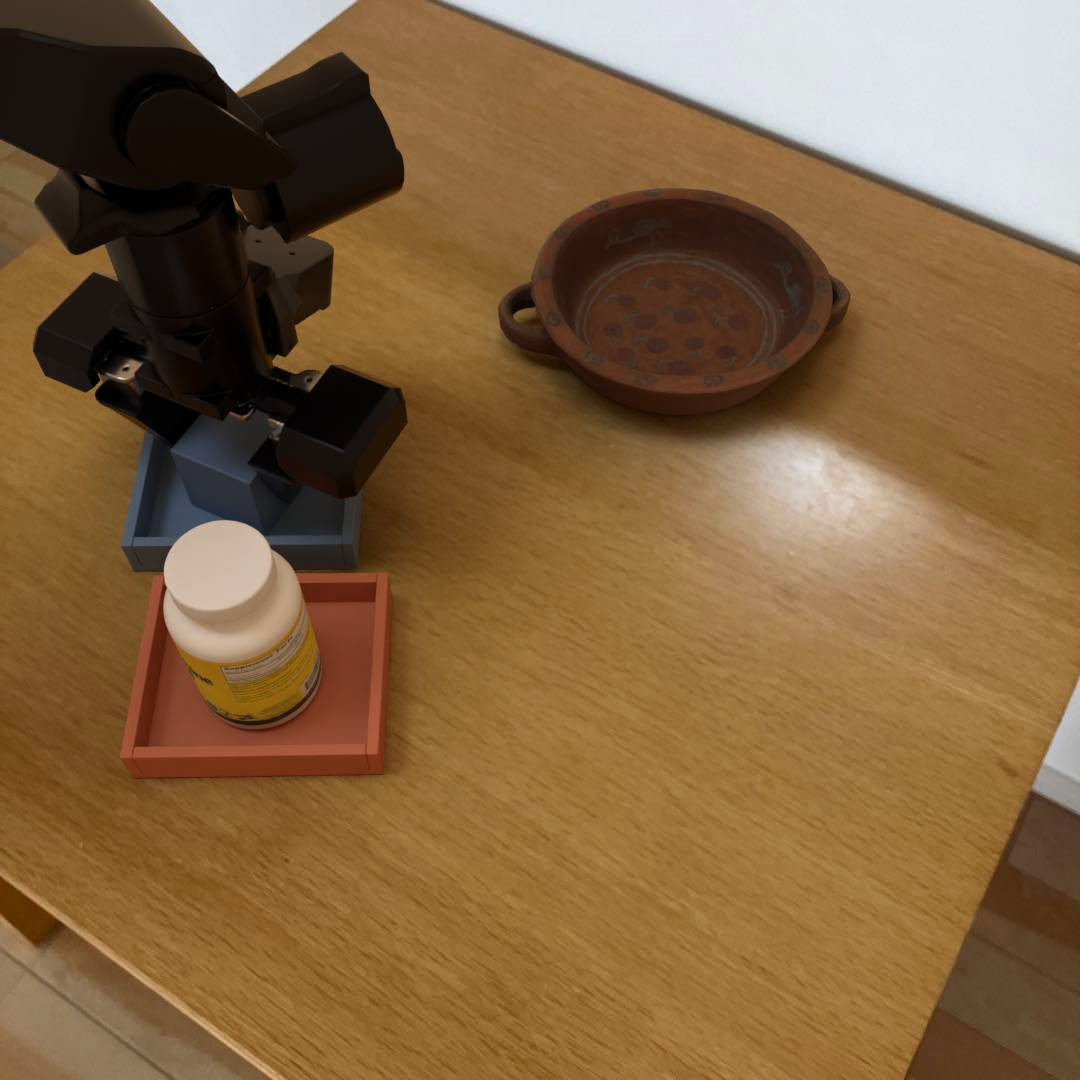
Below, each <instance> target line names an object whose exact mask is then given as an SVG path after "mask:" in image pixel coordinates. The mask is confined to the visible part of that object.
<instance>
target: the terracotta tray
mask: <svg viewBox="0 0 1080 1080" xmlns="http://www.w3.org/2000/svg"><path fill="white" fill-rule="evenodd" d="M295 574H296V576H297V578H298V581H299V584H300V587H301V590H302V594H303V597H304V601H305V604H306V608H307V611H308V615H309V618H310V622H311V625H312V628H313V631H314V635H315V638H316V641H317V645H318V648H319V652H320V657H321V662H322V675H321V680H320V684H319V687H318V690H317V692H316V694H315V696H314V697H313V699H312V701H311V702H310V703H309V704H308V706H307V707H306V708H305V709H304V710H303V711H302V712H300V713H299V714H298V715H296V716H295V717H294V718H292V719H291V720H289V721H287V722H285V723H283V724H280V725H277V726H274V727H270V728H264V729H244V728H239V727H236V726H233V725H230V724H228V723H226V722H224V721H223V720H221V719H219V718H218V717H217V716H216V715H215V714H214V713H213V712H212V711H211V710H210V709H209V707H208V706H207V705H206V703H205V701H204V699H203V698H202V696H201V694H200V692H199V690H198V688H197V686H196V684H195V682H194V680H193V678H192V676H191V674H190V672H189V670H188V668H187V666H186V664H185V663H184V661H183V659H182V656H181V655H180V653H179V651H178V649H177V647H176V645H175V643H174V641H173V639H172V637H171V635H170V633H169V631H168V629H167V626H166V622H165V618H164V610H163V609H164V598H165V593H166V590H167V586H166V584H165V579H164V574H153V576H152V582H151V587H150V592H149V597H148V602H147V607H146V613H145V618H144V624H143V629H142V635H141V639H140V645H139V651H138V655H137V656H138V657H137V662H136V667H135V671H134V677H133V683H132V689H131V694H130V699H129V704H128V710H127V715H126V721H125V725H124V731H123V736H122V742H121V747H120V753H119V759H120V761H121V762H122V764H123V765H124V767H125V768H126V769H127V771H128V772H129V774H130V775H131V777H132V778H133V779H149V778H150V779H153V778H155V779H156V778H157V779H158V778H217V777H219V778H220V777H270V776H271V777H277V776H279V777H281V776H338V775H342V776H343V775H344V776H345V775H383V774H384V765H385V764H384V762H385V744H386V743H385V742H386V726H387V725H386V723H387V706H388V704H387V703H388V685H389V669H390V651H391V650H390V648H391V631H392V629H391V628H392V612H393V611H392V610H393V593H392V587H391V581H390V576H389V573H388V572H323V573H322V572H320V573H319V572H318V573H317V572H315V573H313V572H312V573H311V572H310V573H308V572H307V573H305V572H303V573H295Z"/></svg>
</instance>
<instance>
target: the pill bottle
mask: <svg viewBox="0 0 1080 1080" xmlns="http://www.w3.org/2000/svg"><path fill="white" fill-rule="evenodd" d="M296 574H297V573H296V572H295V569H293V568H292V567H291V566H290V564H289V563H288V562H287V561H286V560H285V559H284V558H283V557H282V556H281V555H279V554H278V553H277V552H275V551H273V550H272V549H271V548H270V546H269V543H268V542H267V540H266V539H265V538H264V536H263V535H262V534H261V533H260V532H259V531H257V530H256V529H254V528H253V527H251V526H249V525H247V524H244V523H241V522H237V521H230V520H220V521H212V522H208V523H205V524H202V525H199V526H197V527H195V528H193V529H191V530H190V531H188V532H187V533H185V534H184V535H183V536H181V537H180V538H179V539H178V540H177V541H176V543H175V544H174V545H173V546H172V548H171V550H170V551H169V553H168V555H167V558H166V561H165V565H164V570H163V575H164V579H165V584H166V586H167V590H166V593H165V598H164V609H163V610H164V618H165V622H166V626H167V629H168V631H169V633H170V635H171V637H172V639H173V641H174V643H175V645H176V647H177V649H178V651H179V653H180V655H181V656H182V659H183V661H184V663H185V664H186V666H187V668H188V670H189V672H190V674H191V676H192V678H193V680H194V682H195V684H196V686H197V688H198V690H199V692H200V694H201V696H202V698H203V699H204V701H205V703H206V705H207V706H208V707H209V709H210V710H211V711H212V712H213V713H214V714H215V715H216V716H217V717H218V718H219V719H221V720H223V721H224V722H226V723H228V724H230V725H233V726H236V727H239V728H244V729H264V728H270V727H274V726H277V725H280V724H283V723H285V722H287V721H289V720H291V719H292V718H294V717H295V716H296V715H298V714H299V713H300V712H302V711H303V710H304V709H305V708H306V707H307V706H308V704H309V703H310V702H311V701H312V699H313V697H314V696H315V694H316V692H317V690H318V687H319V684H320V680H321V675H322V662H321V657H320V652H319V648H318V645H317V641H316V638H315V635H314V631H313V628H312V625H311V622H310V618H309V615H308V611H307V608H306V604H305V601H304V597H303V594H302V590H301V587H300V584H299V581H298V578H297V576H296Z"/></svg>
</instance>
